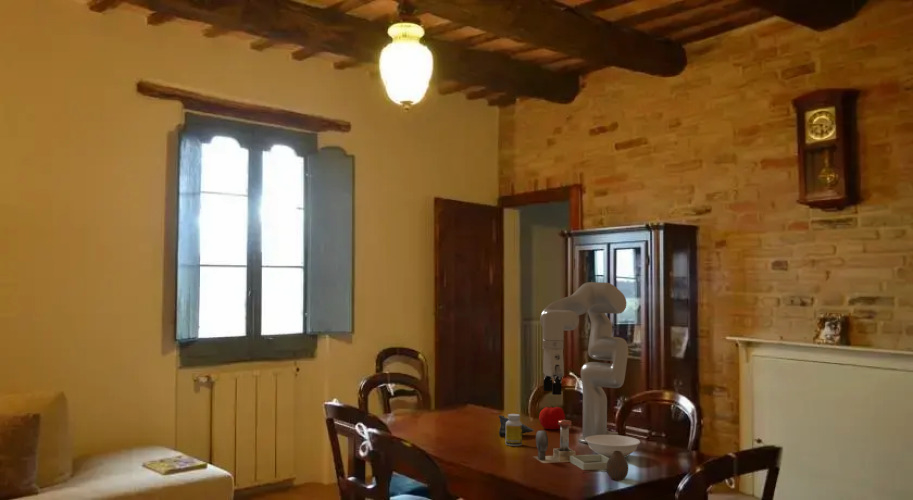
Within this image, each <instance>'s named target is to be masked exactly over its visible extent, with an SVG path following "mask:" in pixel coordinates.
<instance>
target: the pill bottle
mask: <svg viewBox="0 0 913 500" xmlns="http://www.w3.org/2000/svg"><path fill="white" fill-rule="evenodd" d="M507 418H508V419H509V420H508V421H507V422H506V435H505V440H504V441H505V443H504V444H505V445H506V446H509V447H519V446H522V444H523V434H522V424H523V422H522V421H521V420H520V418H521V415H520V414H518V413H508V414H507Z"/></svg>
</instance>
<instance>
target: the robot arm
mask: <svg viewBox="0 0 913 500" xmlns="http://www.w3.org/2000/svg"><path fill="white" fill-rule="evenodd" d="M626 309H627V299H626V297H625V294H624V293H623V292H622V291H621V290H619V288H617V287H616V286H615V285H614V284H612V283H610V282H596V281H594V282H593V281H592V282H591V281H590V282H589V281H588V282H584V283H583V284H582V285H580V286H579V288H577V289H576V291H574V293H572V294H571V295H569V296H566V297H563V298H561V299H558V300H555V301H553V302H551V303H549V304H548V305H547V306H546V307H545V308H544V309H543V310H542V311H541V314H540V316H539V317H540V318H539V323H540V325H541V327H542V348H541V349H542V350H543V359H542V360H543V362H542V372H543V373H542V375H543V385H542V386H543V391H544V392H552V393H551V394H552V395H554V396H555V395H558V396H561V395H562V383H563V381H562V379H563V377H564V376H565V372H564V371H565V369H564V367H565V362H564V352H563V350H564V331H574V330H576V328H578V326H579V324H580V318H579V316H581V315H584V314H585V313H587V314H588V316H589V319H590V320H589V321H590V325H591V326H590V333H589V340H588V347H587V353H588V356H589V357H590V358H591V359H593V360H598V361H601V360H602V361H611V362H612V363H610V362H609V363H608V362H607V363H606V362H597V361H589V362H585V363H584V364H583V365H582V366H581V368H580V379H581V380H580V381H581V384H582V385H581V386H582V436H579V437H578V442H580V443H583V444H586V445H587V444H588V443H587V441H586V440H585V438H586V437H589V436H593V435H619V432H618V431H613V432H612V431H609V430H608V426H607V422H608V421H607V420H608V413H607V412H608V398H607V394H606V392H605V390H604V389H603V388H610V389H611V388H612V389H619V388H621V387H622V386H623V385H624V384H625V383H624V382H625V377H626V371H627V363H628V355H629V354H628V353H629V347H628V342H627V341H626V339H625V338H623V337H617V336H612V333H613V323H612V322H611V320H610V319H609V317H608V316H607V314H615V315H616V314H617V315H619V314H622V313H623V312H625V310H626Z"/></svg>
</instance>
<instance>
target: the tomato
mask: <svg viewBox="0 0 913 500" xmlns="http://www.w3.org/2000/svg"><path fill="white" fill-rule="evenodd" d="M559 406H560V405H559V404H558V405H556V406H555V405H551V406H549V405H548V406H545V407H544V408H543V409H541V410H540V412H539V416H538V419H539V423H540V425H541V426H542V428H544V429H546V430H560V425H558V420H566V416H565V415H566V414H565V412H564V409H563V408H562V407H559Z"/></svg>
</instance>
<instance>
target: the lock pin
mask: <svg viewBox="0 0 913 500" xmlns="http://www.w3.org/2000/svg"><path fill="white" fill-rule="evenodd" d="M558 425H560V428H559V431H560V432H559V433H560V434H559V435H560V437H559V448H560V451H561V452H562V451H569V448H570V447H569V445H570V438H569V437H570V436H569V435H570V430H569V428H570V426H572V420H568V419H565V420H558Z"/></svg>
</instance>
